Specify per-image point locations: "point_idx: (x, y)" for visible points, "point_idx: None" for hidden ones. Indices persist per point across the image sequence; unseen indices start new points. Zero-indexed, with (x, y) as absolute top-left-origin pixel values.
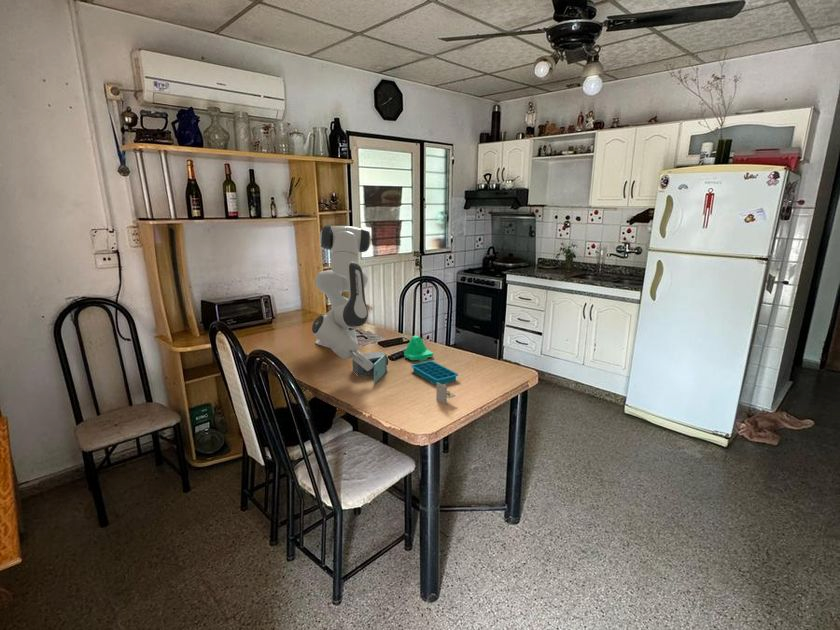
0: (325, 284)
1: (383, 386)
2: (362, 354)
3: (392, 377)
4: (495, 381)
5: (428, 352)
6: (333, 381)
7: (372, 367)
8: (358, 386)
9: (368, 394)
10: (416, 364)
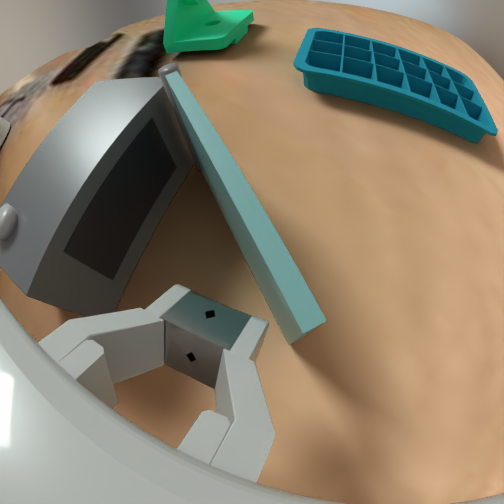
0: None
1: (377, 328)
2: (35, 489)
3: (297, 185)
4: (483, 74)
5: (236, 13)
6: None
7: (265, 331)
8: None
9: (390, 473)
10: (304, 55)
